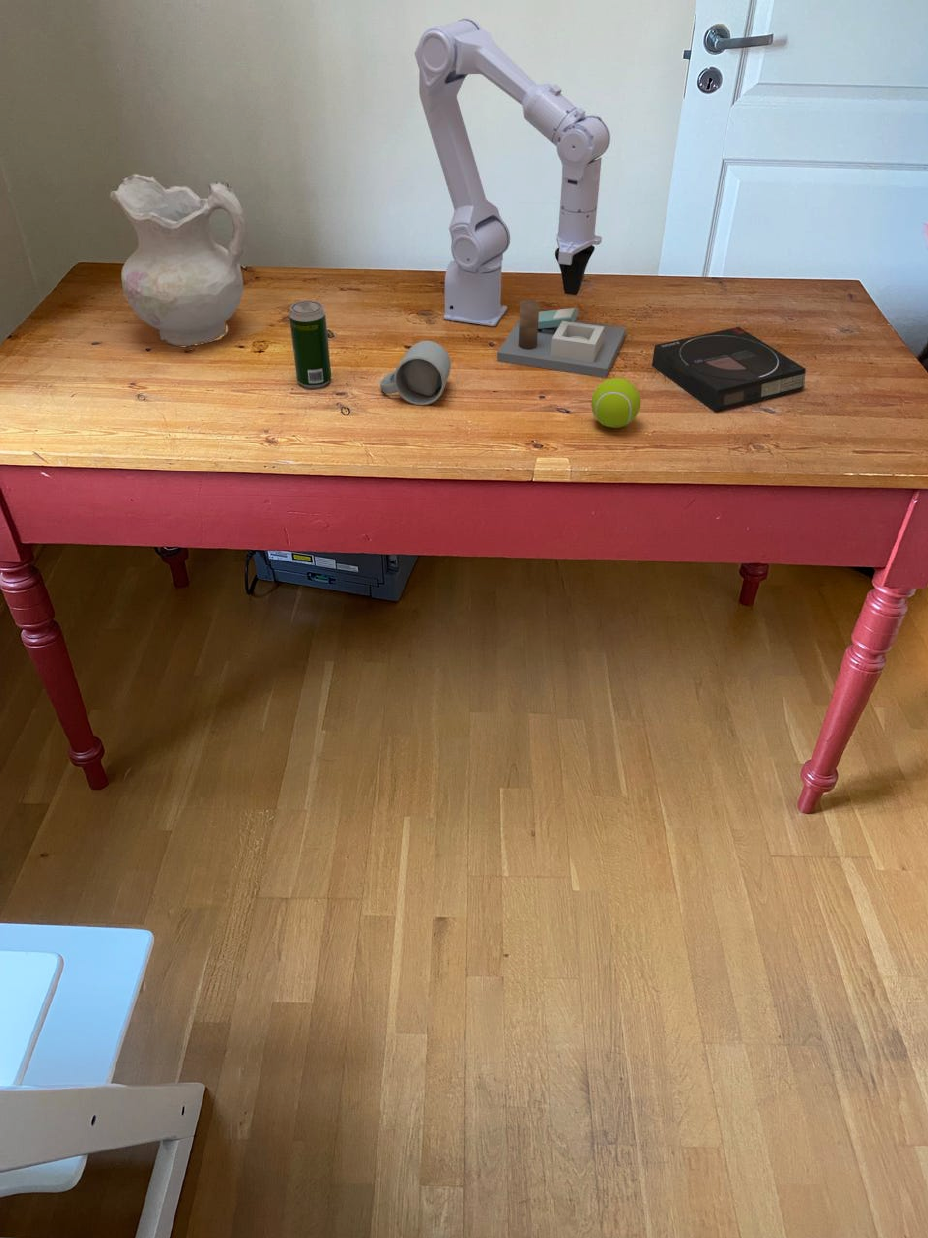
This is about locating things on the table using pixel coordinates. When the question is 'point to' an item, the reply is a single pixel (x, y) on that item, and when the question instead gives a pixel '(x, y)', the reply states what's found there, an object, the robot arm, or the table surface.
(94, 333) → the table surface
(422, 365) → the ceramic mug
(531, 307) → the dowel
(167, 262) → the ceramic pitcher
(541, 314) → the block
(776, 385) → the portable cd player
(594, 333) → the panel
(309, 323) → the beer can
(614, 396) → the tennis ball
